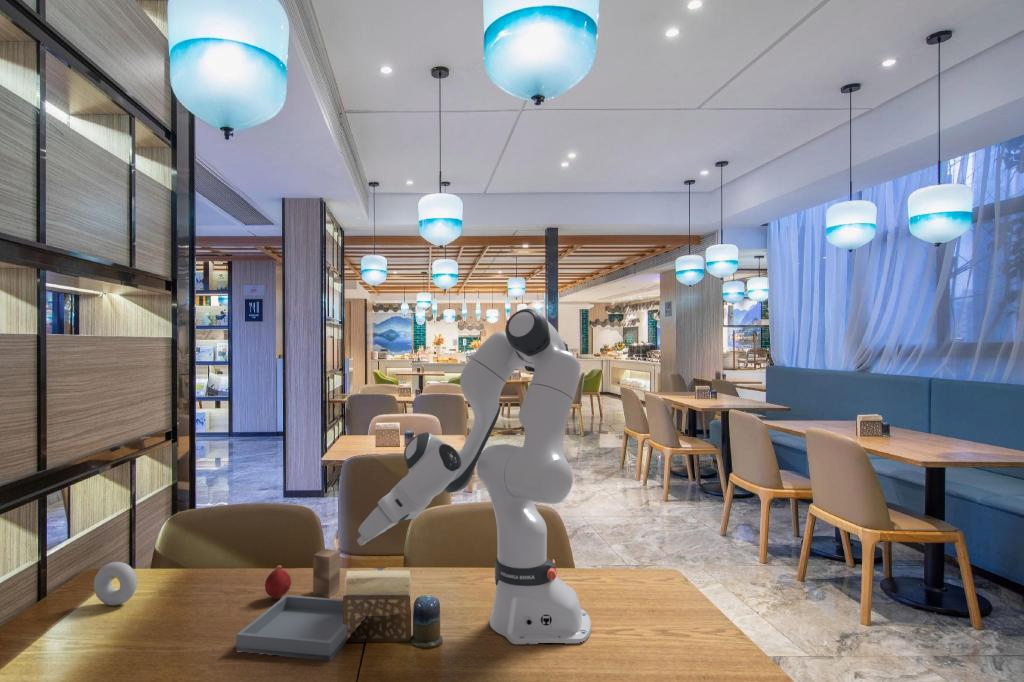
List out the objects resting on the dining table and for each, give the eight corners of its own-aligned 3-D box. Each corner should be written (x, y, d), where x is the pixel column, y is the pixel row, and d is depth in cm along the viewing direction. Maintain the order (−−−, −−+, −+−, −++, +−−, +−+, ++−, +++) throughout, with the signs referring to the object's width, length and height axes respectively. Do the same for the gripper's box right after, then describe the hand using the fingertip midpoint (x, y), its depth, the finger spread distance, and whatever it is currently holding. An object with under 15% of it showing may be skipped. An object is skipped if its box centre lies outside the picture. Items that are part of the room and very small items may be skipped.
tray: (367, 616, 125) (367, 601, 126) (330, 661, 108) (330, 643, 108) (285, 610, 128) (285, 594, 128) (236, 652, 111) (236, 634, 111)
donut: (140, 602, 132) (141, 560, 132) (129, 609, 128) (130, 565, 128) (101, 600, 132) (102, 558, 133) (89, 607, 129) (90, 564, 129)
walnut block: (339, 590, 139) (339, 550, 139) (328, 598, 135) (329, 557, 135) (324, 588, 140) (324, 548, 140) (312, 595, 136) (313, 555, 136)
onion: (272, 606, 130) (273, 572, 130) (260, 599, 133) (260, 566, 134) (295, 598, 135) (295, 565, 135) (282, 591, 138) (283, 559, 138)
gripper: (418, 479, 143) (384, 514, 145) (377, 500, 123) (338, 539, 126) (434, 498, 141) (399, 533, 144) (395, 522, 122) (355, 561, 124)
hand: (370, 536), depth 135 cm, fingers open, 8 cm apart
